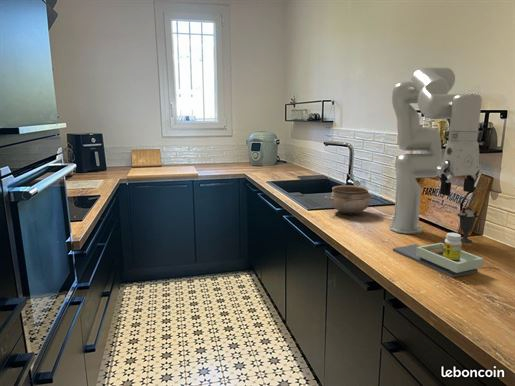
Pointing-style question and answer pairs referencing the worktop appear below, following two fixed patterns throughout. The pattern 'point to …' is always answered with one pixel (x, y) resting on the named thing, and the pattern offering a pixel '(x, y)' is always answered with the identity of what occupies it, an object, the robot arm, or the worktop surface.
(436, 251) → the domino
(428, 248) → the shallow rectangular tray
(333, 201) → the cooking pot
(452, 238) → the supplement bottle
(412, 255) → the track
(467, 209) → the sundae
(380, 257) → the worktop surface
